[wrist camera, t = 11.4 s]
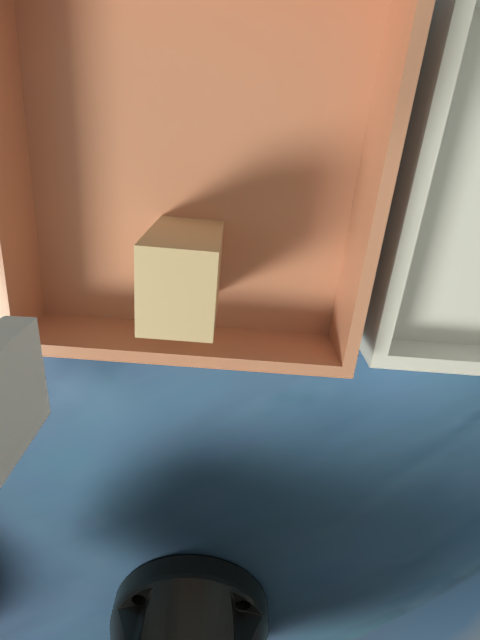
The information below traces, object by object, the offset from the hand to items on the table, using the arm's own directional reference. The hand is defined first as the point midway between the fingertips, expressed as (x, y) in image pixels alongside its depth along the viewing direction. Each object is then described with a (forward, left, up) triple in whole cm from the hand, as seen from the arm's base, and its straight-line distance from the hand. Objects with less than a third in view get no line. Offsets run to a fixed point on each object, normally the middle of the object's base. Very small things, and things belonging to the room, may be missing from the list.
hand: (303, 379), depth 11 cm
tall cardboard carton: (-2, +5, -19) cm, 19 cm away
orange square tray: (+3, +5, -19) cm, 20 cm away
